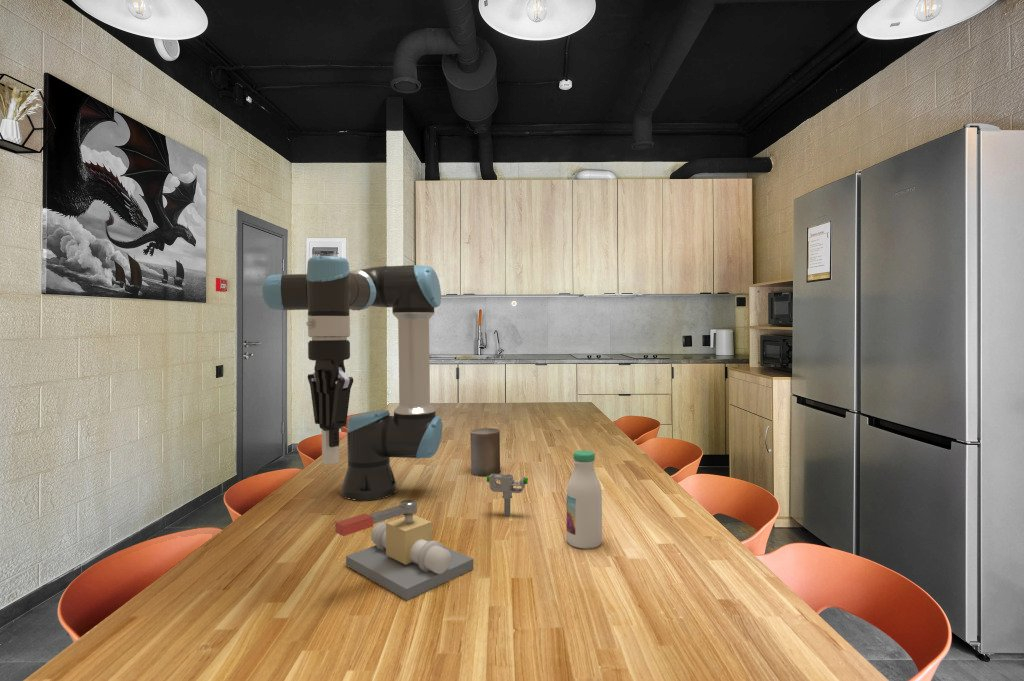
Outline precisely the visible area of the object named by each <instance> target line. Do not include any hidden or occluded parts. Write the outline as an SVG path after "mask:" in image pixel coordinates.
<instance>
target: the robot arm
mask: <svg viewBox="0 0 1024 681" xmlns="http://www.w3.org/2000/svg"><path fill="white" fill-rule="evenodd" d="M306 265H307V267H306V268H307V269H306V273H304V274H303V273H294V274H293V273H291V274H289V273H288V274H284V273H280V274H271V275H269V276H267V277H266V278H265V280H264V281H263V283H262V286H261V287H262V288H261V290H262V300H263V302H264V304H265V305H266V306H267V307H268V308H269V309H271V310H274V311H284V312H285V311H302V310H303V311H307V321H306V327H307V336H308V338H311V340H309V341H308V342H307V354H308V355H307V357H308V359H309V360H310V361H315V364H314V372H312V373H310V374H309V373H308V375H307V380H308V383H309V387H310V395H311V396H310V397H311V404H312V411H313V418H314V424H315V425H318V426H319V429H321V461H322V462H321V463H322V465H325V466H328V465H333V464H337V463H340V429H342V428H343V427H346V426H347V429H346V437H347V439H346V440H347V441H346V442H347V468H346V473H345V476H344V478H343V482H342V485H341V496H342V495H343V496H344V497H346V498H350V499H355V500H354V501H357V500H367V501H373V500H372V499H376V500H380V499H379V498H381V499H384V498H383V497H385V498H387V497H386V496H388V497H390V496H392V495H394V494H395V493H396V492H397V481H396V478H395V476H394V473H393V469H392V467H391V463H390V462H391V460H390V459H391V458H401V459H402V458H403V459H405V458H406V459H417V460H419V459H430V458H432V457H434V456H435V455H436V454H437V452H438V450H439V448H440V447H439V446H440V445H441V440H442V436H443V426H444V425H443V419H442V417H440V416H438V415H437V414H436V413H437V412H436V408H435V407H433V405H432V404H431V381H430V380H431V377H430V376H431V375H430V374H431V373H430V369H431V368H430V319H432V317H433V316H434V314H435V309H436V308H438V307H440V305H441V302H442V300H441V299H442V292H441V291H442V290H441V285H440V280H439V277H438V274H437V272H436V270H435V269H434V268H433V267H431V266H430V265H421V264H413V265H412V264H411V265H382V266H380V265H379V266H373V267H368V268H363V269H352V270H350V269H351V268H350V262H349V261H348V259H347V258H345V257H343V256H341V257H340V256H334V255H318V256H316V255H315V256H312V257H310V258H309V259H308V261H307V264H306ZM370 307H376V308H392V313H391V314H392V315H393V316H394V317H395V318H396V319H397V328H398V331H397V335H398V338H397V339H398V340H397V342H398V343H397V344H398V399H399V400H398V401H399V402H398V403H399V404H398V406H396V408H395V409H394V410H393V415H391V413H390V411H389V409H388V410H387V409H378V410H377V409H376V410H371V411H366V412H361V413H356V414H353V415H352V416H350V417H349V418H348V413H349V405H350V397H351V396H350V395H351V390H352V386H353V383H354V377H353V376H347V374H346V366H345V360H349V359H350V358H351V341H350V340H349V339H348V338H349V337H351V322H350V321H351V320H350V319H351V317H350V310H351V311H358V312H359V311H361V310H366V309H368V308H370ZM395 491H396V492H395ZM394 492H395V493H394ZM393 493H394V494H393ZM391 494H392V495H391ZM389 495H390V496H389ZM343 496H342V497H343ZM344 497H343V498H344ZM346 498H345V499H346Z"/></svg>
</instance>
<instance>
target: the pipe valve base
mask: <svg viewBox="0 0 1024 681" xmlns="http://www.w3.org/2000/svg"><path fill="white" fill-rule="evenodd" d="M370 538H371V541H372V542H373V544H375V545H373V546H369V547H367V548H363V549H362V550H361V549H360V550H358V551H356V552H353V553H350V554H348V555H346V556H345V566H346V565H347V566H349V567H350V568H349V567H348V568H349V569H351V568H352V569H351V570H353V571H354V570H355V572H356V571H357V572H356V573H358V572H359V573H358V574H360V573H361V574H362V575H361V574H360V575H361V576H363V575H364V576H363V577H365V576H366V577H365V578H366V579H368V578H369V580H371V581H372V582H374V583H375V582H376V584H377V583H378V584H377V585H379V584H380V585H379V586H381V587H382V586H383V588H384V587H385V588H384V589H386V590H388V591H389V590H390V591H389V592H392V593H393V594H394V595H396V596H399V597H400V598H402V599H404V600H405V601H409V600H410V599H413V598H415V597H417V596H419V595H421V594H423V593H426V592H427V591H429V590H432V589H434V588H437V587H438V586H440V585H443V584H445V583H447V582H449V581H451V580H453V579H455V578H457V577H459V576H462V575H464V574H466V573H467V572H470V571H472V570H474V567H475V566H474V558H472V557H470V556H468V555H465V554H463V553H460V552H458V551H456V550H453V549H452V548H449V547H447V546H444V545H443V544H442V543H441V542H439V541H437V540H433V522H432V521H430V520H428V519H425V518H422V517H420V516H417V515H415V514H413V515H404V516H403V517H400V518H399V517H398V518H396V519H394V520H391V521H387V522H384V521H381V522H378V523H376V525H375V526H373V529H372V531H371V534H370ZM347 566H346V567H347Z"/></svg>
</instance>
